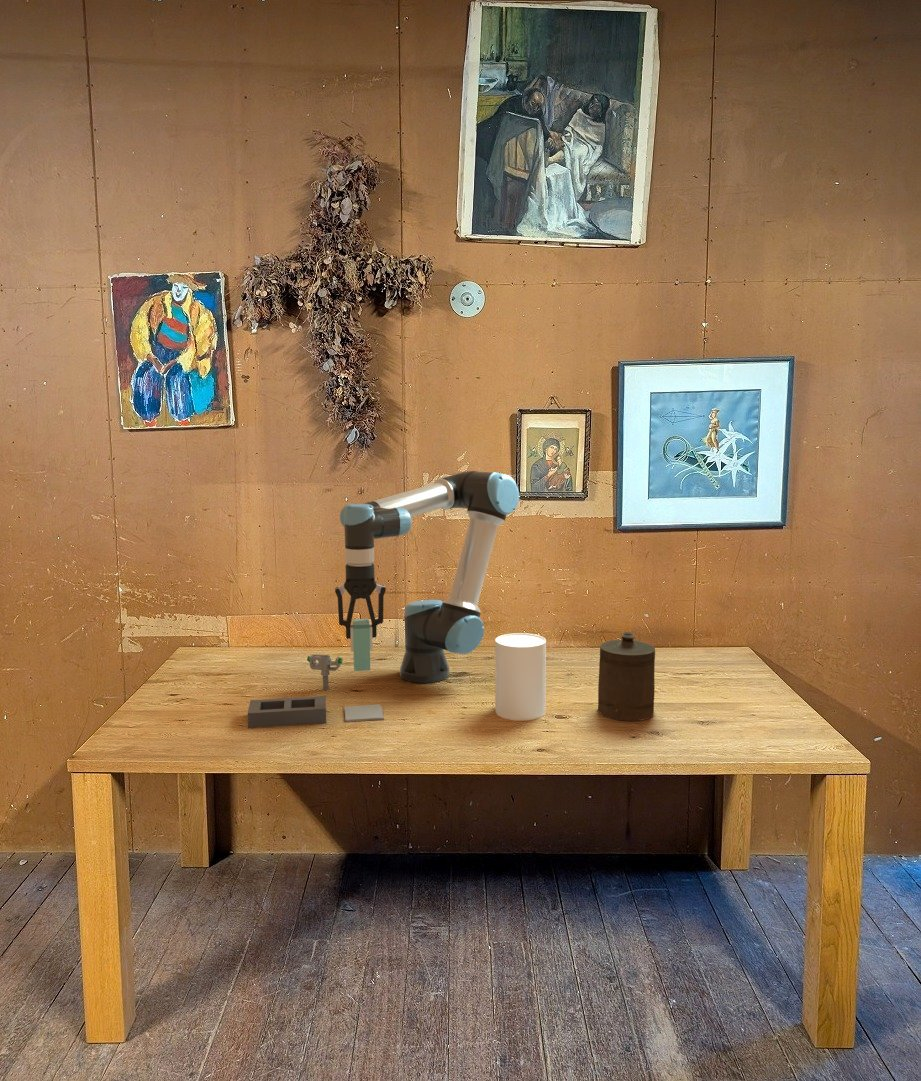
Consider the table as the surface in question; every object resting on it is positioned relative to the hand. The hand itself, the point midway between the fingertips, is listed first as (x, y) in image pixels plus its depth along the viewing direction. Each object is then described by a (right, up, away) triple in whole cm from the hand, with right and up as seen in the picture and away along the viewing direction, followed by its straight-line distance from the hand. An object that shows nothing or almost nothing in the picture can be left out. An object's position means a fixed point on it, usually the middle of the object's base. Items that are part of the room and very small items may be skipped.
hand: (361, 649), depth 234 cm
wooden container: (+71, -18, +4) cm, 73 cm away
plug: (0, -5, +1) cm, 5 cm away
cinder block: (-20, -18, 0) cm, 27 cm away
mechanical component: (-13, -15, +23) cm, 30 cm away
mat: (0, -18, +3) cm, 18 cm away
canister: (+42, -18, +5) cm, 46 cm away
